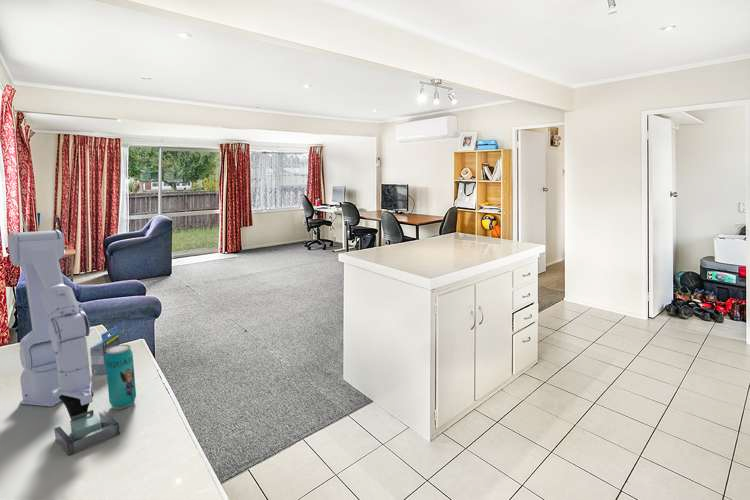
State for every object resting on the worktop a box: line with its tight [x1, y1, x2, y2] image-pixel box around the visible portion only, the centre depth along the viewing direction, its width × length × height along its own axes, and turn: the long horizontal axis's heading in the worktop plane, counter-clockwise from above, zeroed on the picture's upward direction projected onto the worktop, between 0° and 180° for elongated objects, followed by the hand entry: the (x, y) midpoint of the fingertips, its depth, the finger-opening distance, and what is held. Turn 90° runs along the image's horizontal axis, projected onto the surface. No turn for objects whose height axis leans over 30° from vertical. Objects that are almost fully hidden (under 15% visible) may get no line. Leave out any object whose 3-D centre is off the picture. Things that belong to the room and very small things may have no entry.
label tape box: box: [89, 325, 120, 376], centre depth 122 cm, size 9×4×12 cm, turn 6°
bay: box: [53, 409, 121, 457], centre depth 89 cm, size 9×10×2 cm
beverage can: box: [105, 344, 137, 410], centre depth 101 cm, size 6×6×15 cm
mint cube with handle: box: [70, 409, 103, 439], centre depth 89 cm, size 6×4×4 cm
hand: (79, 422), depth 92 cm, fingers closed
